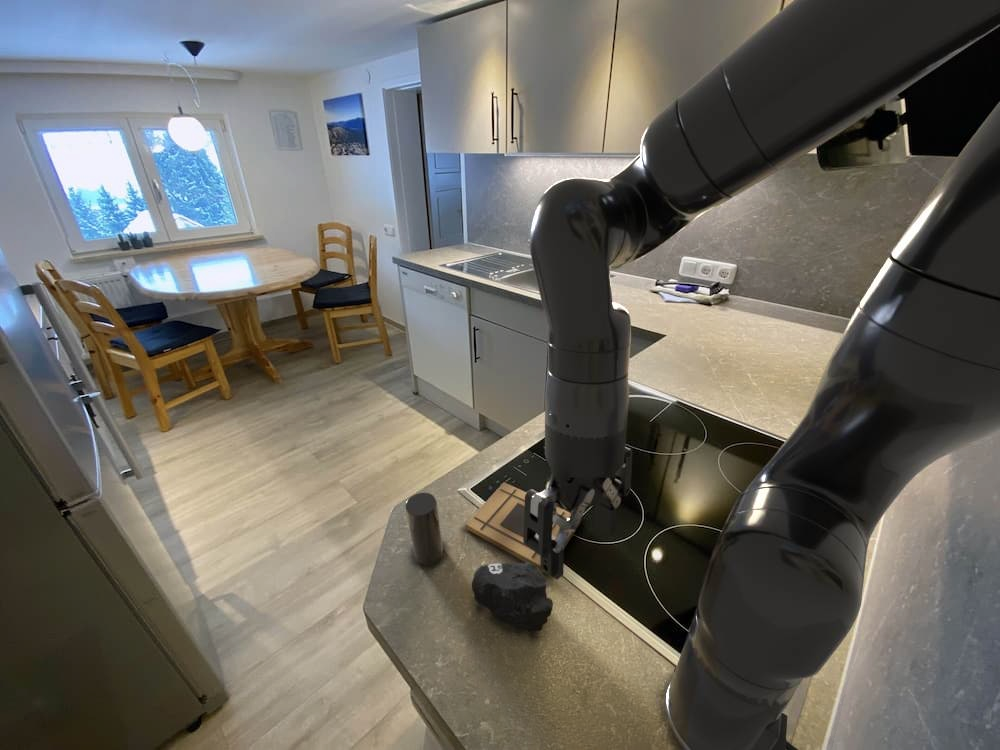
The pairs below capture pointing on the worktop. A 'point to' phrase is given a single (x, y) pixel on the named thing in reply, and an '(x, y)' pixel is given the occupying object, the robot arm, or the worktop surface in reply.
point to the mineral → (513, 594)
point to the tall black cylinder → (424, 528)
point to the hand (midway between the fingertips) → (579, 551)
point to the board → (508, 523)
